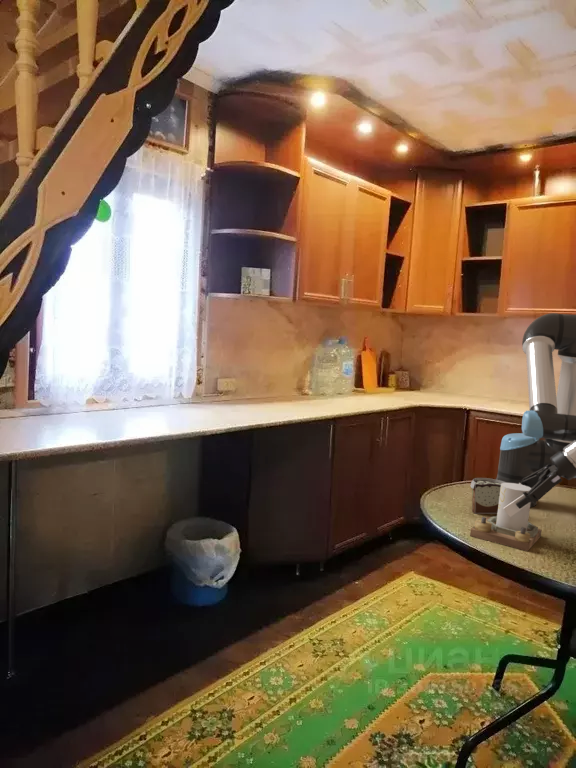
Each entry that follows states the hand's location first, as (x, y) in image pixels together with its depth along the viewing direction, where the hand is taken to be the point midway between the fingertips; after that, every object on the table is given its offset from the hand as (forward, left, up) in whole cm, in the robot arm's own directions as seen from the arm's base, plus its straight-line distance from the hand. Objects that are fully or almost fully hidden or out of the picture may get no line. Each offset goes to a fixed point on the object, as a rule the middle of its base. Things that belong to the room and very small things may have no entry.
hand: (505, 506), depth 163 cm
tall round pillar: (-1, +2, -6) cm, 7 cm away
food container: (-19, -11, -8) cm, 24 cm away
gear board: (+1, +1, -8) cm, 8 cm away
